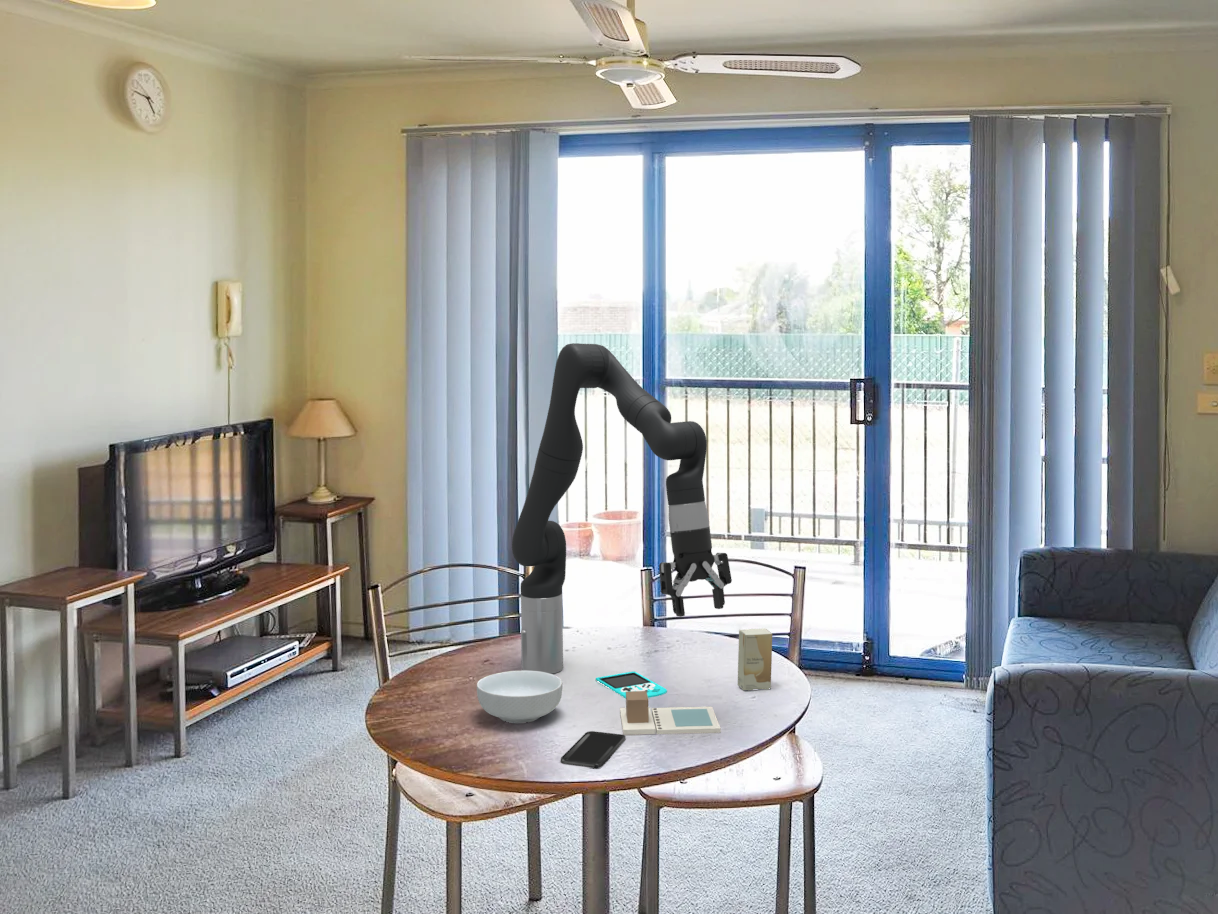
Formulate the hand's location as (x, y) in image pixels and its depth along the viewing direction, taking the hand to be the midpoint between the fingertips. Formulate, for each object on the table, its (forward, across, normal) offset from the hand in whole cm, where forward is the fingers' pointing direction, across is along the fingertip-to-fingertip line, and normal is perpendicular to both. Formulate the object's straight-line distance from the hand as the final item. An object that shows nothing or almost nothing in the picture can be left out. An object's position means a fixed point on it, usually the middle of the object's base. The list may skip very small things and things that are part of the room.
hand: (699, 612), depth 211 cm
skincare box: (+21, -21, -18) cm, 35 cm away
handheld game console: (+18, +1, -30) cm, 35 cm away
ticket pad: (+22, +2, -7) cm, 23 cm away
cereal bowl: (+18, +29, -25) cm, 42 cm away
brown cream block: (+20, +11, -10) cm, 25 cm away
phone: (+22, +24, -2) cm, 33 cm away
